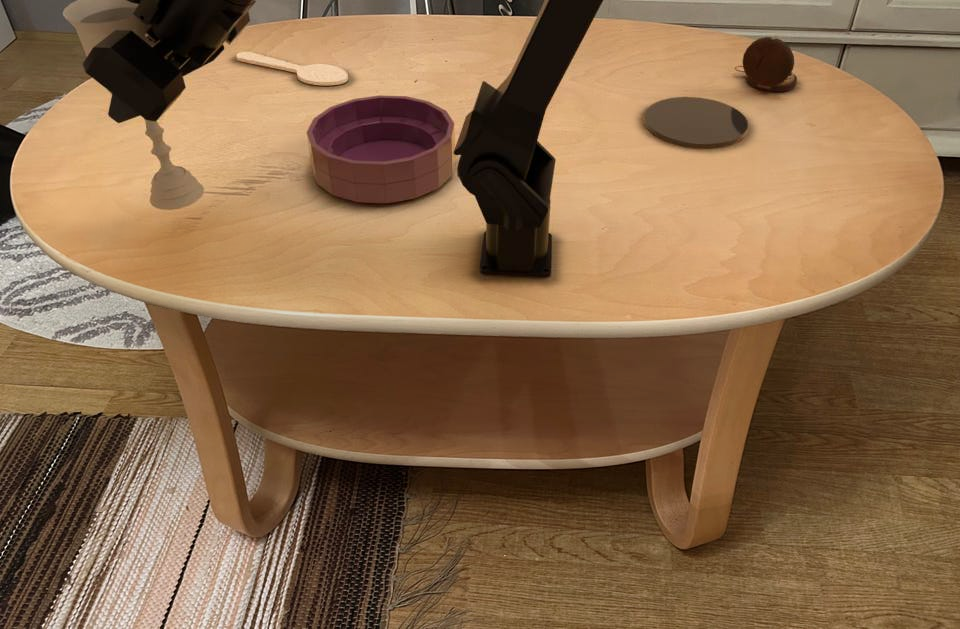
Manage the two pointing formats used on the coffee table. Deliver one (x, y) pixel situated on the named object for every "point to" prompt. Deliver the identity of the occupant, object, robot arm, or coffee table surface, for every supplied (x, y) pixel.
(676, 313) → the coffee table surface
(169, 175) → the chalice
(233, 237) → the coffee table surface
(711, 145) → the slate coaster
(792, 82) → the compass
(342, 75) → the spoon
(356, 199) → the plum bowl
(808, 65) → the coffee table surface
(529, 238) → the robot arm
